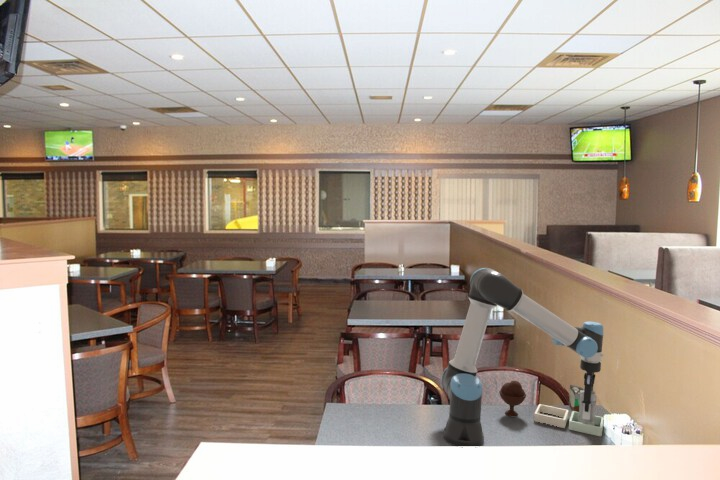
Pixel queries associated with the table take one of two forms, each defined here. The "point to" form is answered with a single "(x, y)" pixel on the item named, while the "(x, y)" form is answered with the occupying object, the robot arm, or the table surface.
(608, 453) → the table surface
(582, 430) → the green bin
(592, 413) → the energy drink can
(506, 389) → the ice cream bowl
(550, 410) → the beige bin
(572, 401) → the food container
